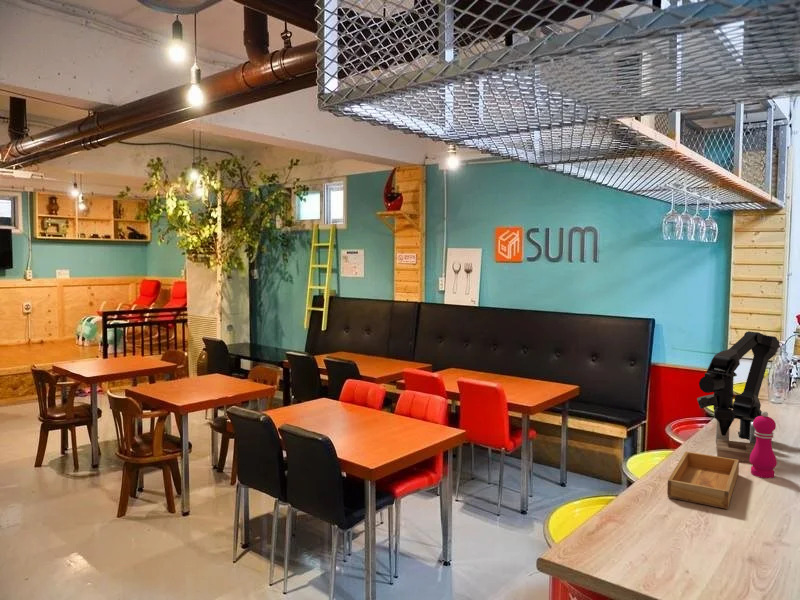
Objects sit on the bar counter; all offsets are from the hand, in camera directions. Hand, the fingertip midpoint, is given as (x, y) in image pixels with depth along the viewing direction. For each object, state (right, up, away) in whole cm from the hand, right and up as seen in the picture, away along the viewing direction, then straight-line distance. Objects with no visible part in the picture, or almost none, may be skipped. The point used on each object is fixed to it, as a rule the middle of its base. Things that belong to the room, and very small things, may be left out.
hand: (722, 431), depth 213 cm
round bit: (+9, -4, -4) cm, 11 cm away
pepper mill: (-4, -7, -30) cm, 31 cm away
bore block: (-2, -5, -12) cm, 13 cm away
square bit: (0, -4, 0) cm, 4 cm away
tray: (-26, -8, -38) cm, 47 cm away
